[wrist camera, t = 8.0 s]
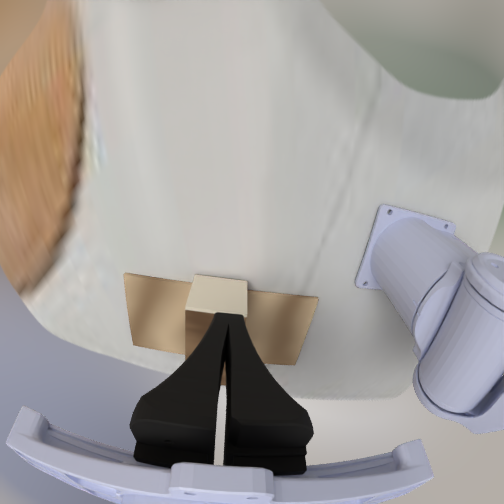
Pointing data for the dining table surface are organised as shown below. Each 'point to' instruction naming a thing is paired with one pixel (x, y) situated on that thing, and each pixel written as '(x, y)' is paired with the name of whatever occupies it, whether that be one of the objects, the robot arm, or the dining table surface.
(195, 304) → the walnut block
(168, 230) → the dining table surface
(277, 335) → the light wood flat board
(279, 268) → the dining table surface
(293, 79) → the dining table surface
